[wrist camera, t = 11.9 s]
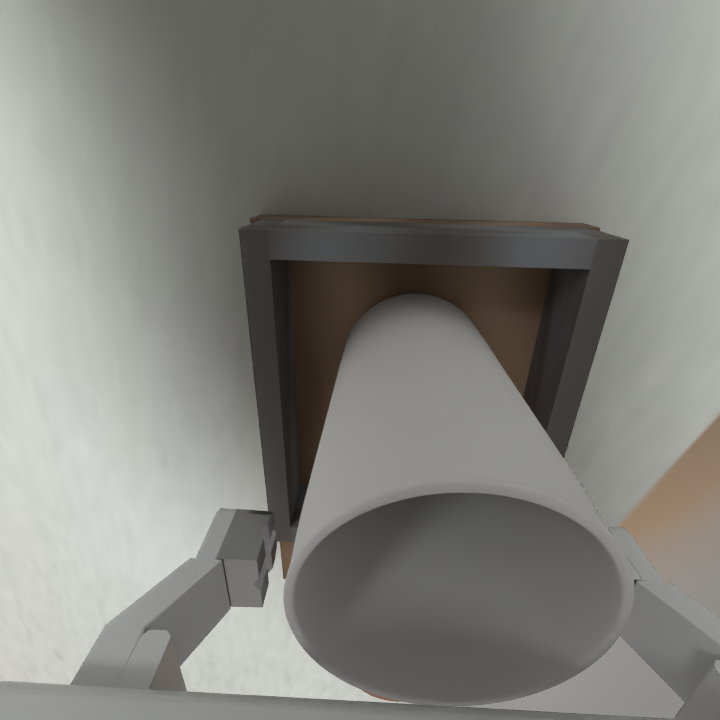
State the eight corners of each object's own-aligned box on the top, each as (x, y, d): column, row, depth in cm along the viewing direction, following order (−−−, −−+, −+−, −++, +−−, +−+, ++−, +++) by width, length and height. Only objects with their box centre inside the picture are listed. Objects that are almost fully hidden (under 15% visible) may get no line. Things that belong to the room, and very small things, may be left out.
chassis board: (288, 558, 27) (271, 626, 23) (260, 214, 18) (224, 228, 14) (497, 570, 27) (517, 642, 23) (582, 223, 17) (644, 240, 13)
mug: (367, 263, 17) (341, 432, 6) (512, 314, 18) (720, 547, 7) (305, 445, 21) (225, 732, 10) (423, 480, 22) (465, 787, 11)
